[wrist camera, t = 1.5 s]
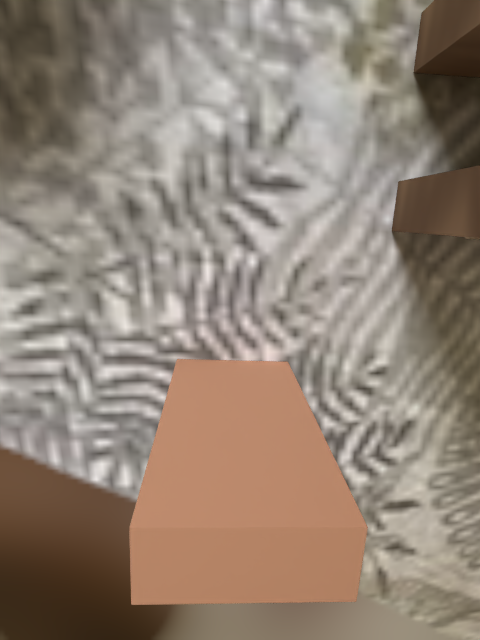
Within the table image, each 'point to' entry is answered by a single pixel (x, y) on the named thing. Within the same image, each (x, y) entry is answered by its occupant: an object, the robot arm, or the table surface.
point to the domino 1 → (242, 495)
